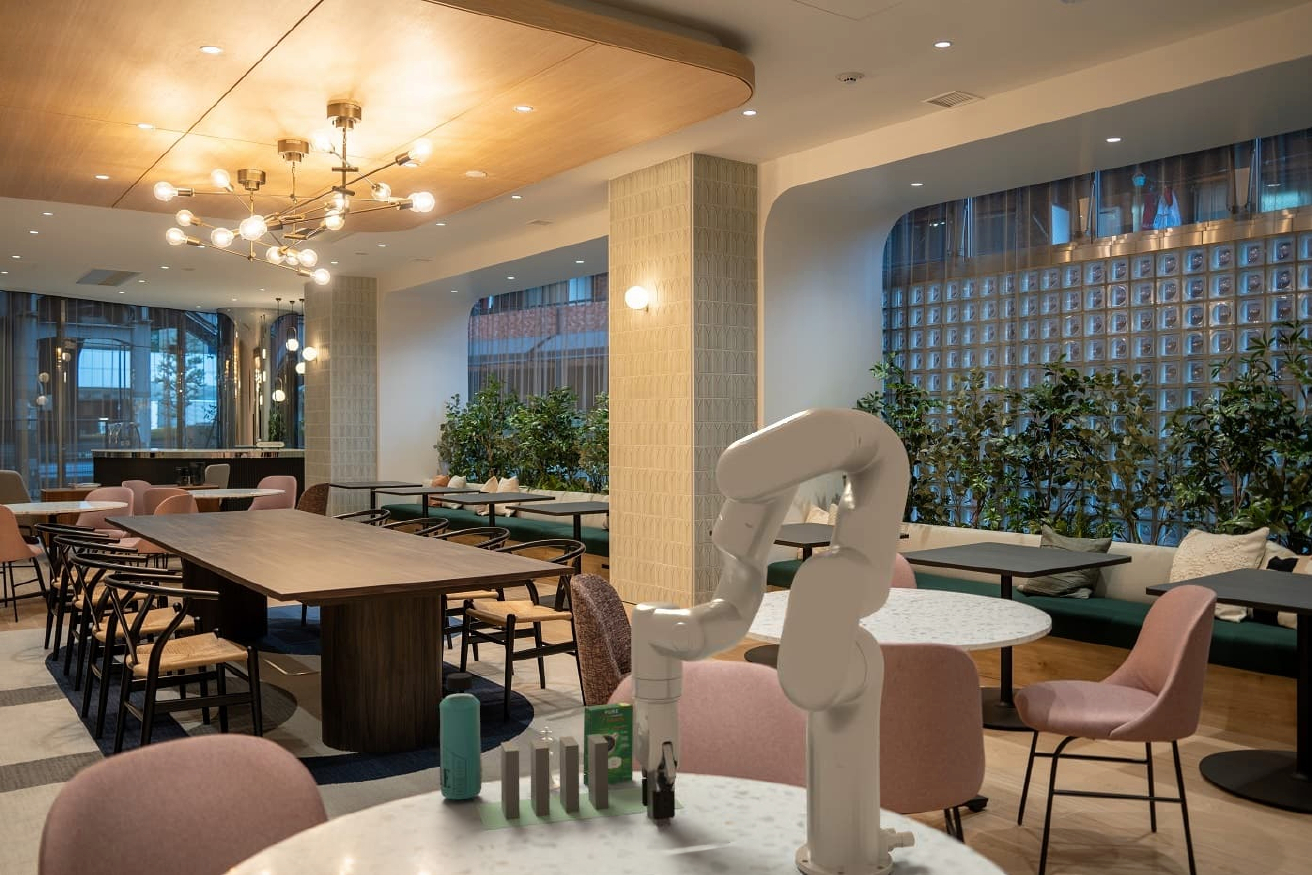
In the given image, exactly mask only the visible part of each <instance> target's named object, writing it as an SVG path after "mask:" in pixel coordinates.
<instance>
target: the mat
mask: <svg viewBox="0 0 1312 875" xmlns="http://www.w3.org/2000/svg"><path fill="white" fill-rule="evenodd" d="M475 806H476V809H477V812H478V814H479V818H480V821H481V823H482V827H483V830H484V831H486V830H487V831H488V830H496V829H506V828H514V827H515V828H516V827H525V826H533V825H543V824H551V823H560V822H561V823H562V822H568V821H578V820H587V819H596V818H605V817H615V816H624V815H625V816H626V815H633V814H642V813H647V806H644V805H643V804H642V786H641V787H632V788H621V789H615V790H608V806H609V809H601V810H595V808H594V807H593V805H592V804H591V802H590V801H589V795H588V792H585V793H584V792H582V793H579V812H574V813H566V812H565V810H564V809H563V807H562V805H561V803H560V795H555V796H550V815H546V816H537V817H536V815H535V813H534V811H533V809H532V806H531V798H525V799H519V808H520V818H518V819H509V820H506V818H505V816H504V813H503V811H502V804H501V801H497V802H487V803H479V804H477V803H476V805H475ZM677 809H684V806H683V805H682V804H681V803H680V801H678V799H677V798H675V810H677Z"/></svg>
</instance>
